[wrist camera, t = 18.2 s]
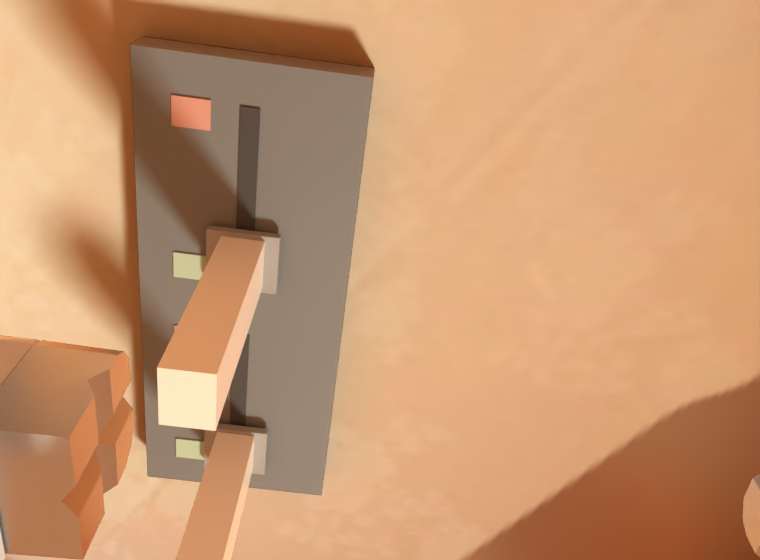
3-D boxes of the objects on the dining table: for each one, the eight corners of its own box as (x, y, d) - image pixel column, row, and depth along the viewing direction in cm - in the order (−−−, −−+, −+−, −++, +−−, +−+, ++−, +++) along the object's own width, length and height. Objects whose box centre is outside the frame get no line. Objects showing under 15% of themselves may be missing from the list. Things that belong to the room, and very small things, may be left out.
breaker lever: (206, 421, 47) (148, 589, 36) (268, 429, 47) (228, 597, 36) (205, 462, 48) (150, 634, 38) (265, 469, 49) (226, 642, 38)
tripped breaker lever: (208, 225, 40) (136, 359, 29) (281, 234, 40) (236, 370, 29) (207, 281, 42) (139, 427, 31) (277, 290, 42) (234, 438, 31)
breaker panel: (142, 36, 37) (129, 45, 35) (374, 68, 38) (373, 78, 36) (156, 455, 51) (147, 477, 50) (324, 474, 52) (321, 496, 50)
